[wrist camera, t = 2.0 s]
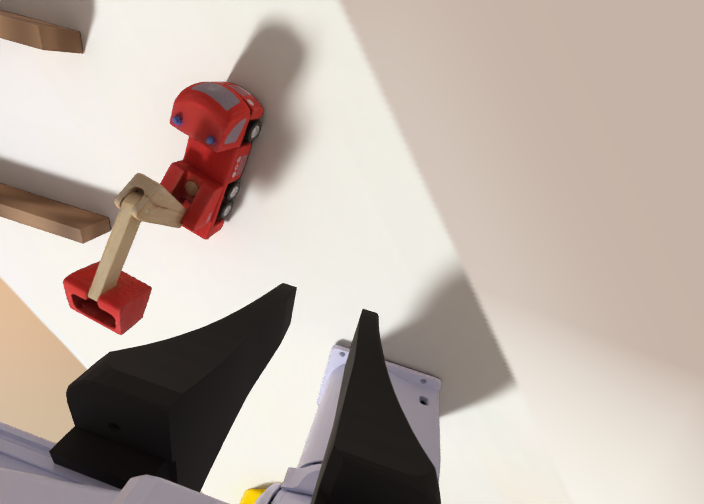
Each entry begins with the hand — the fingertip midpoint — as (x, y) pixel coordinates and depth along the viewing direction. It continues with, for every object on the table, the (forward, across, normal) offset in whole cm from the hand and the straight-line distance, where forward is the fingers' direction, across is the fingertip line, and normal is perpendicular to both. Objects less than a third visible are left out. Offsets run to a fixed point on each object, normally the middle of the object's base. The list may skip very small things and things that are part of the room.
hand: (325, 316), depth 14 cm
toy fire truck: (+10, +11, 0) cm, 15 cm away
